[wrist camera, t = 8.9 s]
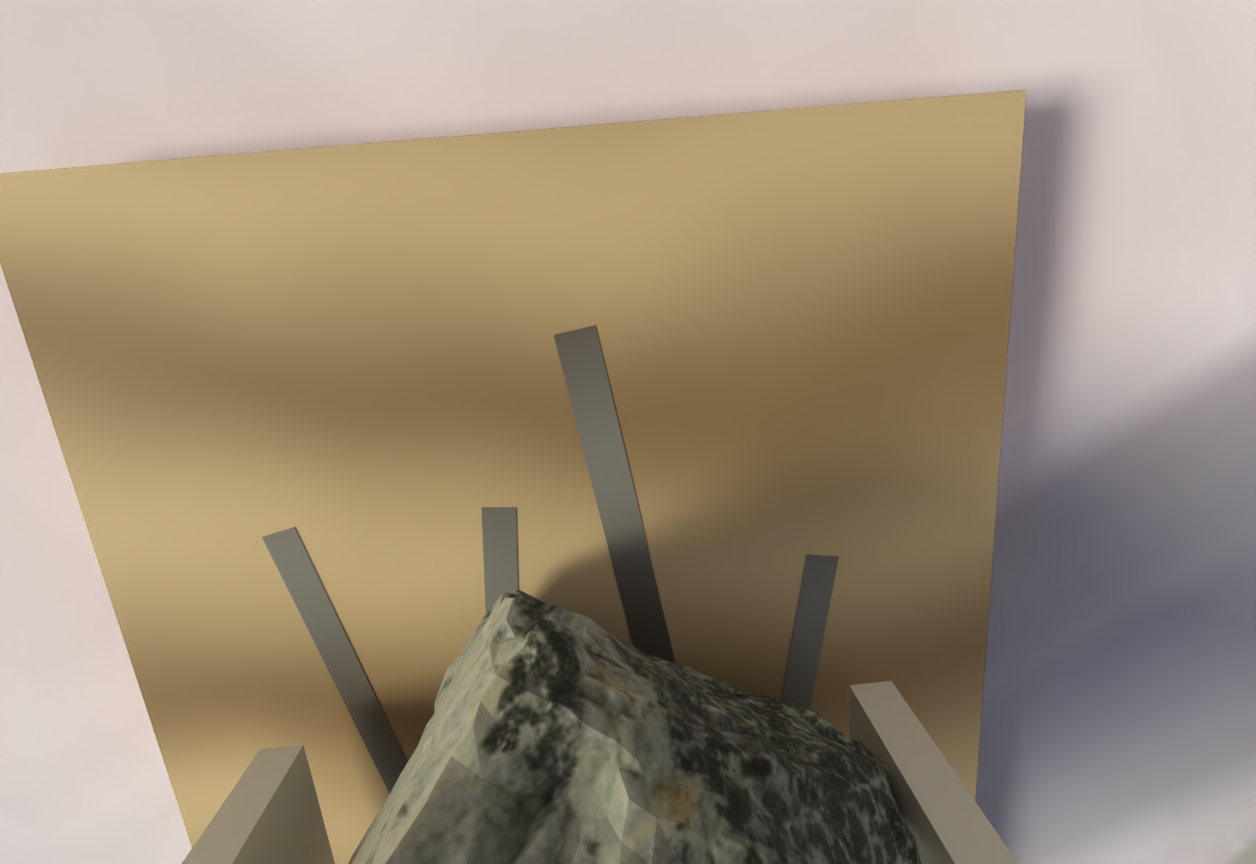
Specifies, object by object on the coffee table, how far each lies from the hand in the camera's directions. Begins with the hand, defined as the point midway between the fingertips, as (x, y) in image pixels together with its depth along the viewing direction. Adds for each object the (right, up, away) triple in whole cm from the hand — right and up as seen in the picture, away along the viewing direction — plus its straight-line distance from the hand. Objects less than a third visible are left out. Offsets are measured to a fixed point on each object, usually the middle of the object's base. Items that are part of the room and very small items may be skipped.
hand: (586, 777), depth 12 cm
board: (0, +2, +2) cm, 3 cm away
